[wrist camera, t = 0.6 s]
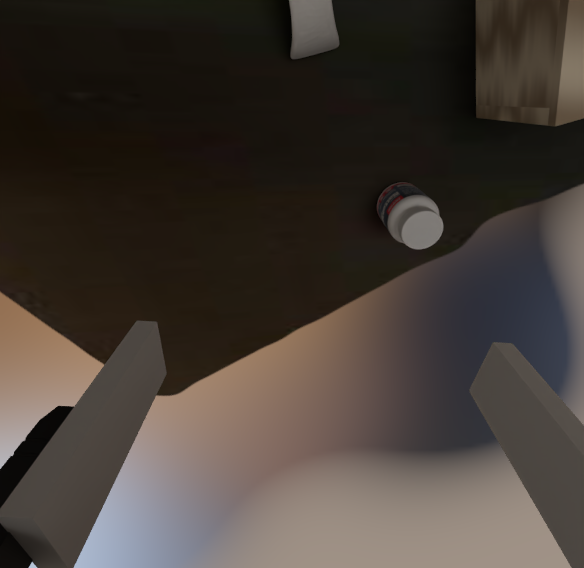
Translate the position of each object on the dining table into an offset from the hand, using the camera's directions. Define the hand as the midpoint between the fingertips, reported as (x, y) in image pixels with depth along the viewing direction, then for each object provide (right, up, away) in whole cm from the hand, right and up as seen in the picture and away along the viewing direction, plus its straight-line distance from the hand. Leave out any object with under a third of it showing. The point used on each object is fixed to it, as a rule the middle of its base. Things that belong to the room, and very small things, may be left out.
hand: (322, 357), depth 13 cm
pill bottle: (+12, +13, +26) cm, 31 cm away
